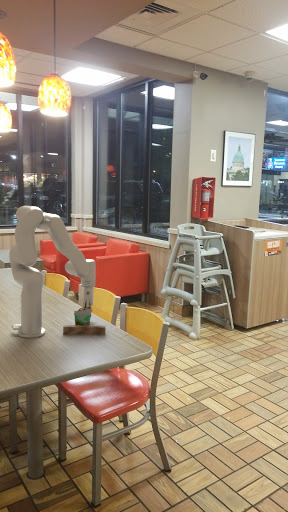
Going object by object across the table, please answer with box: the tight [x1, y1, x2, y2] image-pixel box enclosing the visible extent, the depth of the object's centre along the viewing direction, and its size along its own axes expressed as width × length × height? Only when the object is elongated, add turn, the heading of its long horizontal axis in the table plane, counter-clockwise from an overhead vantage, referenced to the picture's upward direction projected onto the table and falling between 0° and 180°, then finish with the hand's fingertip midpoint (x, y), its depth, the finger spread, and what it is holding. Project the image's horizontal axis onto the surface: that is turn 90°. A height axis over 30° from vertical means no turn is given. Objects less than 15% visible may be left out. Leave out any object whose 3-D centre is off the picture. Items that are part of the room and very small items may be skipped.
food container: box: [73, 305, 93, 325], centre depth 197 cm, size 12×6×10 cm, turn 161°
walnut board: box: [62, 324, 106, 336], centre depth 188 cm, size 20×2×4 cm, turn 95°
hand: (88, 316), depth 207 cm, fingers closed
